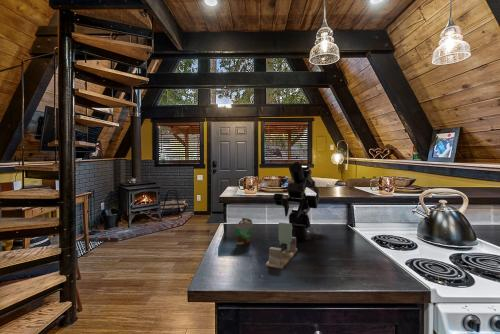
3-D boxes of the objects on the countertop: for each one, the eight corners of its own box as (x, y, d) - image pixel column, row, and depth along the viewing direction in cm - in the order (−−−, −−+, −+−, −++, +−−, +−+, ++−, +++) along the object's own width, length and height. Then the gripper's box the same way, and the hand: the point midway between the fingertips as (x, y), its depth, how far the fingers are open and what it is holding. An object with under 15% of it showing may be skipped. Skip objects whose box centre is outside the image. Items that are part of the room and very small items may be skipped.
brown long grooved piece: (283, 248, 114) (283, 234, 114) (297, 250, 112) (297, 235, 111) (265, 265, 96) (266, 248, 96) (282, 268, 94) (282, 250, 93)
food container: (249, 248, 115) (250, 224, 114) (235, 247, 116) (235, 223, 116) (255, 239, 127) (255, 218, 126) (242, 238, 128) (242, 217, 128)
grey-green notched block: (280, 247, 109) (280, 221, 108) (292, 249, 107) (292, 222, 106) (277, 249, 106) (277, 223, 106) (290, 251, 104) (290, 224, 104)
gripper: (274, 175, 122) (265, 203, 112) (316, 176, 114) (310, 207, 104) (280, 190, 129) (271, 218, 119) (319, 193, 121) (314, 223, 112)
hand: (291, 216), depth 113 cm, fingers open, 4 cm apart
